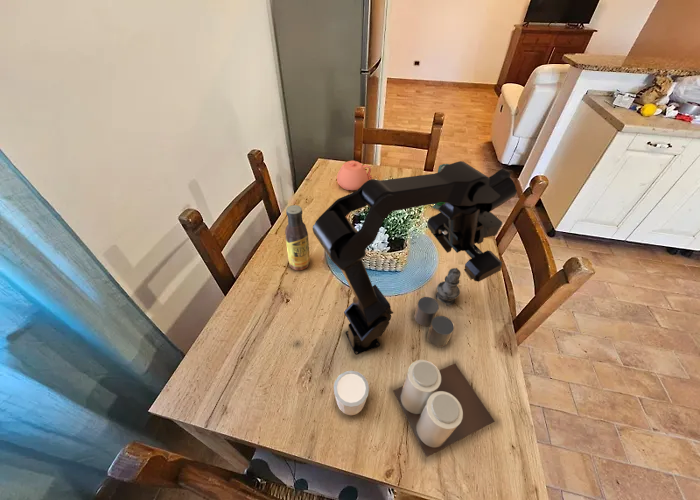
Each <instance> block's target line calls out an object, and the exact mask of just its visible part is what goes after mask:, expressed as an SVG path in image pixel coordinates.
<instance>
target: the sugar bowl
mask: <svg viewBox="0 0 700 500" xmlns="http://www.w3.org/2000/svg"><path fill="white" fill-rule="evenodd" d="M366 168H367V169H368V171H367V170H366ZM371 172H372V167H371V166H370V165H368V164H364V165H363V164H362V163H361V162H359V161H357V160H349V161H346V162H344V163H343V164H342V165H341V167H340V168H339V170H338V172H337V174H336V182H337V184H338V185H339V186H340V187H341V188H342V189H344V190H345V191H357V190H358V189H359V188H360V187H361V186H362V185H363V184H364V183H365V182H367V181H368V180H371V179H373V176H372V174H371Z"/></svg>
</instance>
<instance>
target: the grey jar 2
mask: <svg viewBox="0 0 700 500" xmlns="http://www.w3.org/2000/svg"><path fill="white" fill-rule="evenodd" d="M454 329H455V326H454V323H453V321H452V320H451V319H450V318H448V317H447V316H444V315H436V317H435V318H434V319H433V320H432V322H431V325H430V326H429V328H428V331H427V335H426V338H427V340H428V342H429V344H431V345H432V346H434V347H437V348H443V347H445V346H447V344H448V343H449V340H450V339H451V337H452V334H453V332H454V331H455V330H454Z"/></svg>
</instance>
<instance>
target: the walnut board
mask: <svg viewBox="0 0 700 500" xmlns="http://www.w3.org/2000/svg"><path fill="white" fill-rule="evenodd" d="M438 370H439V371H440V374H441V383H440V386H439V388H438V389H437V391H436V392H438V391H444V392H447V393H450V394H451V395H453V396H454V397H455V398H456V399H457V400H458V401H459V403H460V405H461V407H462V411H463V418H462V421H461V423H460V424H459V425H458V427H457V428H456V429H455V430H454V432H453V433H452V434H451V435H450V437H449V438H448V439H447V440H446V442H445V443H444V444H443V445H442V446H440V447H430V446H428V445H426V444H424V443H423V442H422V441H421V439H420V438H419V436H418V434H417V430H416V424H417V421H418V419H419V417H420V415H421V414H414V413H411V412H409V411H408V410H406V409H405V407H404V406H403V404H402V402H401V391H402V388H403V385H402V386H400V387H398V388H396V389H395V388H394V389H393V390H392V392H393V394H394V396H395V398H396V400H397V402H398V404H399V406H400V408H401V410H402V413H403V414H404V417H405V418H406V420H407V422H408V424H409V426H410V429H411V431H412V432H413V434H414V436H415V438H416V440H417V442H418V444H419V446H420V448H421V450H422V452H423V454H424V456H425V458H428V457H429V456H432V455H434V454H435V453H438V452H440V451H441V450H444V449H445V448H447V447H449V446H451V445H453V444H454V443H456V442H459V441H460V440H463V439H464V438H466V437H468V436H470V435H472V434H473V433H476V432H477V431H479V430H482V429H484V428H485V427H487V426H490V425H492V424H493V423H495V422H496V421H495V419H494V418H493V416H492V414H490V411H488V409H487V408H486V406H485V405H484V403H483V401H482V400H481V399H480V397H479V396H478V394H477V393H476V391H475V390H474V389H473V387H472V385H471V384H470V382H469V381H468V380H467V378H466V376H465V375H464V374H463V372H462V371H461V369H460V368H459V366H458V365H457V364H456V363H453V364H451V365H448V366H446V367H444V368H442V369H438Z"/></svg>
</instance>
